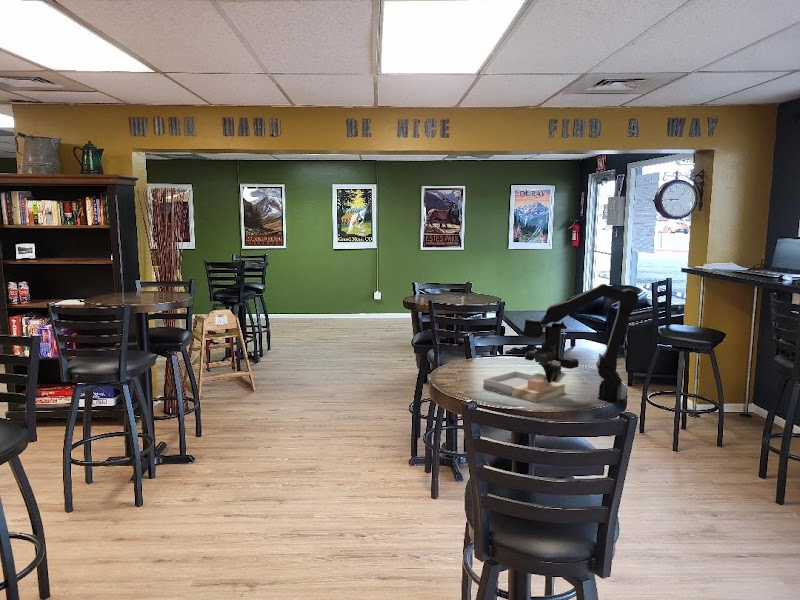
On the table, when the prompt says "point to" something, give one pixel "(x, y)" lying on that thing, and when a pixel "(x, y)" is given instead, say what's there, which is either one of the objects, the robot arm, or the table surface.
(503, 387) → the tray
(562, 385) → the birch board
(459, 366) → the table surface
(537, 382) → the terracotta block
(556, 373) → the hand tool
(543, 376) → the sage block
